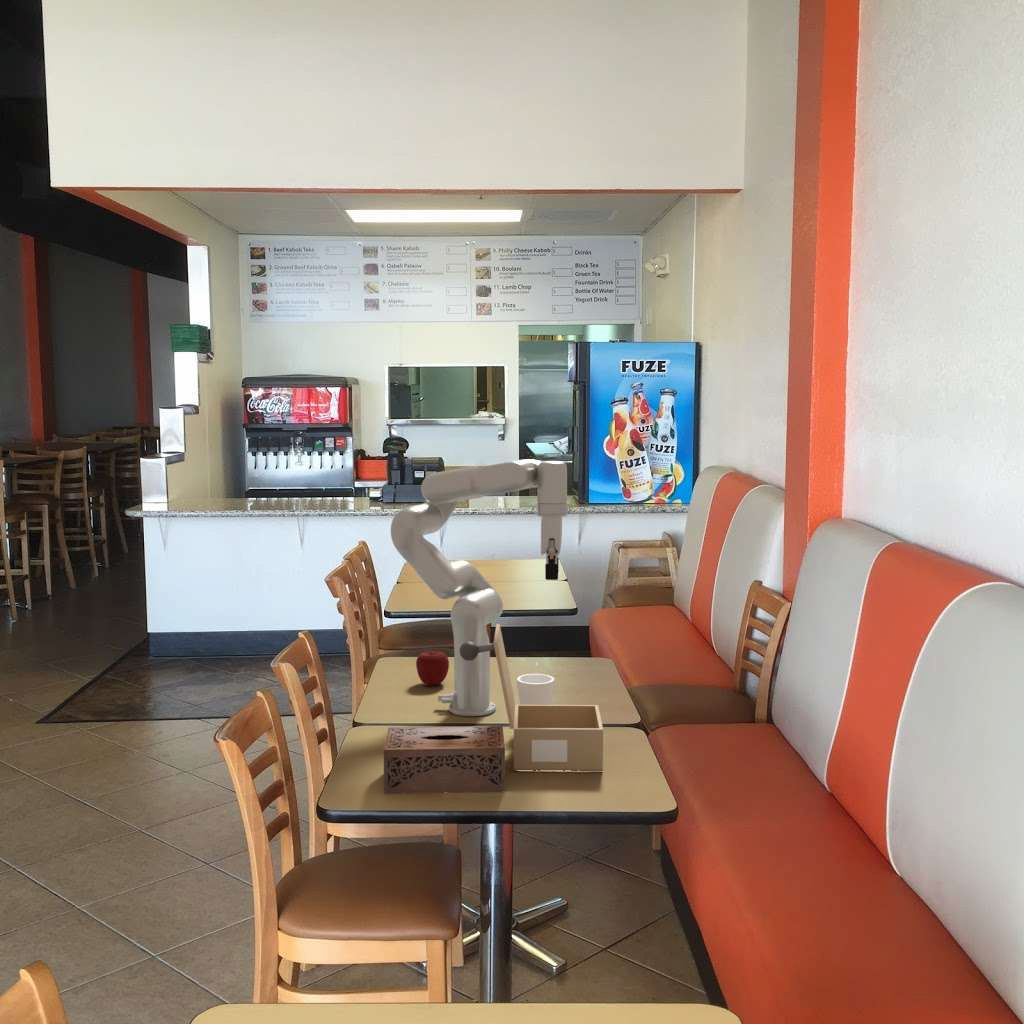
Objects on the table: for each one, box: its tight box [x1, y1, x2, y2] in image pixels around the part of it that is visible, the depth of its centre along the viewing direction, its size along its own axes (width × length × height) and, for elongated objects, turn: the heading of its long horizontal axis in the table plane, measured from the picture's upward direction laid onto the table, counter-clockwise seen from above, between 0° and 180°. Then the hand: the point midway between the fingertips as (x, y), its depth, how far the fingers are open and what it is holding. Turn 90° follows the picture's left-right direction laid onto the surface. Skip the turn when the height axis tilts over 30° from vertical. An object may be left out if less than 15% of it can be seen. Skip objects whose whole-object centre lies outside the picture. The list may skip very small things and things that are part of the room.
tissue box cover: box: [383, 725, 506, 795], centre depth 224 cm, size 26×14×10 cm, turn 93°
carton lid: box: [460, 623, 516, 730], centre depth 236 cm, size 20×18×10 cm
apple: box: [415, 650, 450, 687], centre depth 298 cm, size 10×10×10 cm
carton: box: [513, 704, 604, 772], centre depth 237 cm, size 20×18×10 cm
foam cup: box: [516, 673, 555, 705], centre depth 258 cm, size 10×9×13 cm
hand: (552, 576), depth 260 cm, fingers open, 9 cm apart
